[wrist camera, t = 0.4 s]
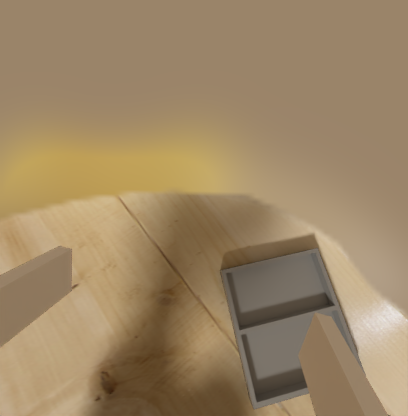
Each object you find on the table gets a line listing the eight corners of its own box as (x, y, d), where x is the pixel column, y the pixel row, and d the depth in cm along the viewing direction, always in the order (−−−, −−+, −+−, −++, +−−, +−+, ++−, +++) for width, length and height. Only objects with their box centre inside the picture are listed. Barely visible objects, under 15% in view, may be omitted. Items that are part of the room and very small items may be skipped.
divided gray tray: (355, 369, 40) (365, 376, 37) (250, 400, 38) (253, 409, 35) (311, 249, 46) (317, 248, 44) (219, 270, 44) (221, 270, 42)
